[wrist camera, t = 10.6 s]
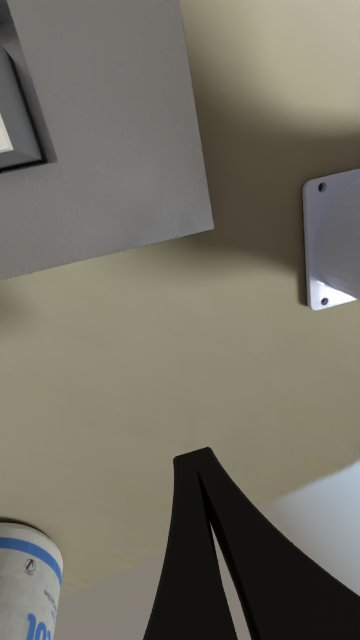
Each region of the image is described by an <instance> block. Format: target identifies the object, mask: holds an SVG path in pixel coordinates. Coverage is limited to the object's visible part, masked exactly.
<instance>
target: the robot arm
mask: <svg viewBox="0 0 360 640" xmlns="http://www.w3.org/2000/svg"><path fill="white" fill-rule="evenodd" d="M320 183H322V185H323V187H322V190H321V191H319V190H318V186H319V184H320ZM303 212H304V235H305V258H306V281H307V304H308V307H309V308H310V309H312V310H320V309H324V308H328V307H331V306H335V305H339V304H342V303H346V302H350V301H353V300H357V299H358V300H360V168H359V169H355V170H350V171H346V172H342V173H338V174H333V175H329V176H325V177H320V178H316V179H312V180H309V181H307V182H306V183H305V184H304V186H303ZM323 298H325V301H324V302H323V303H321V300H322V299H323ZM173 464H174V495H173V506H172V516H171V523H170V530H169V536H168V543H167V548H166V554H165V559H164V564H163V568H162V573H161V577H160V581H159V585H158V589H157V593H156V597H155V601H154V605H153V609H152V612H151V615H150V619H149V622H148V625H147V629H146V632H145V635H144V638H143V640H238V639H237V635H236V632H235V628H234V624H233V621H232V617H231V614H230V610H229V607H228V603H227V599H226V596H225V592H224V589H223V585H222V580H221V575H220V570H219V565H218V560H217V555H216V550H215V545H214V540H213V534H212V529H211V525H212V528H213V530H214V533H215V536H216V538H217V541H218V543H219V546H220V549H221V551H222V554H223V557H224V559H225V562H226V564H227V567H228V570H229V572H230V575H231V578H232V580H233V583H234V586H235V588H236V591H237V594H238V597H239V600H240V603H241V606H242V609H243V613H244V616H245V619H246V623H247V626H248V629H249V633H250V636H251V640H360V596H359V595H357V594H356V593H354V592H353V591H352V590H350V589H349V588H347V587H346V586H345V585H343V584H342V583H341V582H339V581H338V580H337V579H335V578H334V577H333V576H331V575H330V574H329V573H328V572H326V571H325V570H324V569H323V568H321V567H320V566H319V565H318V564H317V563H315V562H314V561H313V560H312V559H310V558H309V557H308V556H307V555H305V554H304V553H303V552H302V551H301V550H299V549H298V548H297V547H296V546H295V545H294V544H293V543H292V542H290V541H289V540H288V539H287V538H286V537H285V536H284V535H283V534H282V533H281V532H280V531H278V530H277V529H276V528H275V527H274V526H273V525H272V524H271V523H270V522H269V521H268V520H267V519H266V518H265V517H264V516H263V515H262V514H261V512H260V511H259V510H258V509H257V508H256V507H255V506H254V505H253V504H252V503H251V502H250V501H249V499H248V498H247V497H246V496H245V495H244V494H243V492H242V491H241V490H240V489H239V488H238V486H237V485H236V484H235V483H234V482H233V480H232V479H231V478H230V477H229V475H228V474H227V472H226V471H225V470H224V468H223V467H222V466H221V464H220V463H219V461H218V460H217V458H216V456H215V455H214V453H213V451H212V449H211V448H209V447H206V448H202V449H199V450H196V451H192V452H189V453H186V454H183V455H179V456H176V457H175V458H174V459H173ZM210 522H211V524H210Z"/></svg>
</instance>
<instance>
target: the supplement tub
mask: <svg viewBox="0 0 360 640" xmlns="http://www.w3.org/2000/svg"><path fill="white" fill-rule="evenodd" d="M62 571H63V562H62V557H61V553H60V551H59V549H58V548H57V546H56V545H55V543H54V542H53V541H52V540H51V539H50V538H48V537H47V536H46V535H45V534H43V533H42V532H40V531H38V530H36V529H34V528H31V527H29V526H25V525H21V524H16V523H0V640H53V637H54V630H55V622H56V615H57V607H58V601H59V594H60V586H61V578H62Z"/></svg>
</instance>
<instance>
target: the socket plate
mask: <svg viewBox="0 0 360 640" xmlns="http://www.w3.org/2000/svg"><path fill="white" fill-rule="evenodd" d="M0 43H1V45H2V46H3V47H4V49H5V50H6V51H7V52H8V54H9V55H10V56H11V57H12V59H13V61H14V64H15V67H16V70H17V73H18V76H19V79H20V82H21V85H22V88H23V91H24V94H25V97H26V100H27V103H28V106H29V109H30V112H31V115H32V118H33V121H34V124H35V127H36V130H37V133H38V136H39V139H40V142H41V145H42V148H43V151H44V154H45V157H46V160H47V162H44V163H39V164H35V165H30V166H25V167H20V168H16V169H11V170H6V171H1V172H0V280H3V279H7V278H12V277H16V276H20V275H24V274H28V273H32V272H37V271H41V270H45V269H49V268H53V267H57V266H62V265H66V264H70V263H74V262H78V261H82V260H87V259H91V258H95V257H99V256H103V255H107V254H112V253H116V252H120V251H124V250H128V249H132V248H137V247H141V246H145V245H149V244H153V243H157V242H162V241H166V240H170V239H174V238H178V237H182V236H187V235H191V234H195V233H199V232H203V231H207V230H211V229H214V223H213V217H212V210H211V204H210V197H209V191H208V184H207V178H206V171H205V165H204V158H203V152H202V145H201V139H200V133H199V126H198V120H197V113H196V107H195V100H194V94H193V87H192V81H191V74H190V68H189V61H188V55H187V48H186V42H185V35H184V29H183V22H182V16H181V9H180V3H179V0H0Z"/></svg>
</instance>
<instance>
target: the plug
mask: <svg viewBox="0 0 360 640" xmlns="http://www.w3.org/2000/svg"><path fill="white" fill-rule="evenodd" d="M44 162H47V160H46V157H45V154H44V151H43V148H42V145H41V142H40V139H39V136H38V133H37V130H36V127H35V124H34V121H33V118H32V115H31V112H30V109H29V106H28V103H27V100H26V97H25V94H24V91H23V88H22V85H21V82H20V79H19V76H18V73H17V70H16V67H15V64H14V61H13V59H12V57H11V56H10V55H9V54H8V52H7V51H6V50H5V49H4V47H3V46H2V45H1V43H0V172H1V171H6V170H11V169H16V168H20V167H25V166H30V165H35V164H39V163H44Z"/></svg>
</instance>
